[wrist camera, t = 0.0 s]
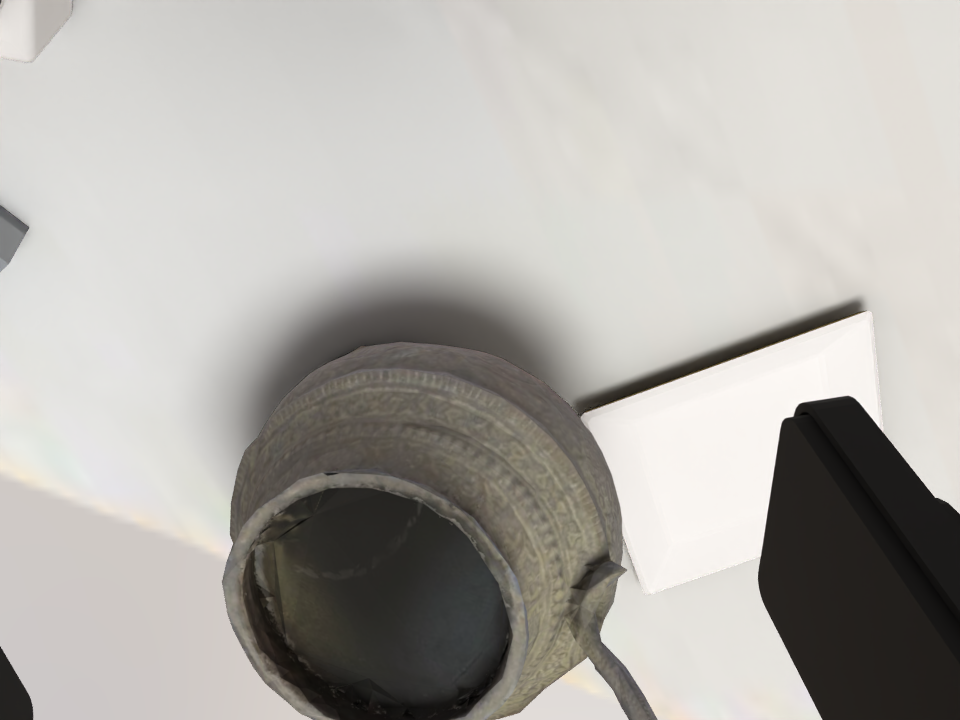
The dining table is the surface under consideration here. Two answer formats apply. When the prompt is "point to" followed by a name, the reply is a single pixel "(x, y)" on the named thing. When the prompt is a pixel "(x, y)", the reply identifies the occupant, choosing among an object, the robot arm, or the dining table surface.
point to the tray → (9, 236)
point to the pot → (424, 541)
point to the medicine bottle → (30, 26)
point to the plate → (721, 447)
